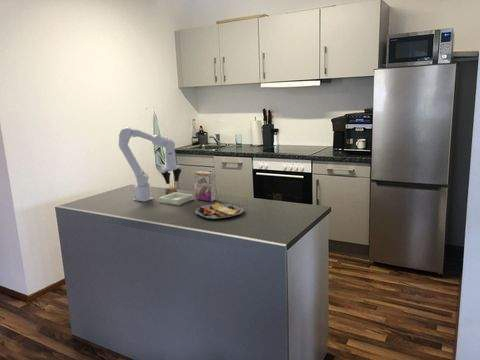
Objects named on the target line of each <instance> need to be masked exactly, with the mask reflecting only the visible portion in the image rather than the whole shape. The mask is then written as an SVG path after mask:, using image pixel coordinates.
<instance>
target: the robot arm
mask: <svg viewBox="0 0 480 360" xmlns="http://www.w3.org/2000/svg"><path fill="white" fill-rule="evenodd" d="M137 137H138V138H142V139H145V140H147V141H151V143H152V144H153V145H154V146H158V147H160V148H164V149H165V166H166V167H165V168H162V169H161V175H162V176H163V178H164V181H165V184H167V185H170V184H171V183H170V181H171V180H170V179H171V175H172V174H171V172H172V173H173V178H174V181H175V182H176V183H177V182H179V178H180V175H181V172H182V169H181V167H182V165H177V163H176V161H177V160H176V149H175V148H176V145H175V142H174V141H173V140H172V139H171V138H168V137H163V136H161V134H155V135H152V134H150V133H148V132H147V133H146V132H145V131H142V130H140V129H137V128H133V127H132V128H131V127H130V126H125V127H124V128H122V129H121V130H120V133H119V134H118V148H119V149H120V151H121V153H122V154H123V156H124V157H125V159H126V161H127V164H128V165H129V167H130V168H131V169H132V172H133V173H134V176H135V178H136V183H137V184H135V185H134V187H133V199H132V200H133V201H138V202H149V201H150V200H153V199H154V197H151V189H150V188H151V187H150V186H151V185H150V183H149V175H148V173H146V172H145V171H144V169H143V168H142V167H141V165H140V164H139V161H138V160H137V158H136V157H135V154H134V153H133V152H132V149H131V147H130V146H129V142H130V139H131V138H137Z"/></svg>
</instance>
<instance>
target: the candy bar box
mask: <svg viewBox="0 0 480 360" xmlns="http://www.w3.org/2000/svg"><path fill="white" fill-rule="evenodd" d="M215 175H216V174H215V172H210V171H200V170H199V171H195V172H194V180H195V181H194V183H195V184H194V186H195V185H196V197H195V198H196V199H195V200H198V201H206V202H213V201H216V196H217V195H216V179H215V177H216V176H215Z"/></svg>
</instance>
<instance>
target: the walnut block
mask: <svg viewBox="0 0 480 360" xmlns="http://www.w3.org/2000/svg"><path fill="white" fill-rule="evenodd" d="M164 190H165V195H168V194H171V193H175V192H177V193H178V187H176V186H169V187H165V188H164Z"/></svg>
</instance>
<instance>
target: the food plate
mask: <svg viewBox="0 0 480 360" xmlns="http://www.w3.org/2000/svg"><path fill="white" fill-rule="evenodd" d="M244 211H245V210H244V208H243V207H241V205H237V204H232V203H219V201H216V202H214V203H210V204H205V205H200V206H198V207H197V208H196V209H194V214H196V215H199V216H201V217H202V218H206V219H212V220H213V219H225V218H231V217H234V216H237V215H241V214H242V213H243V212H244Z"/></svg>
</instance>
